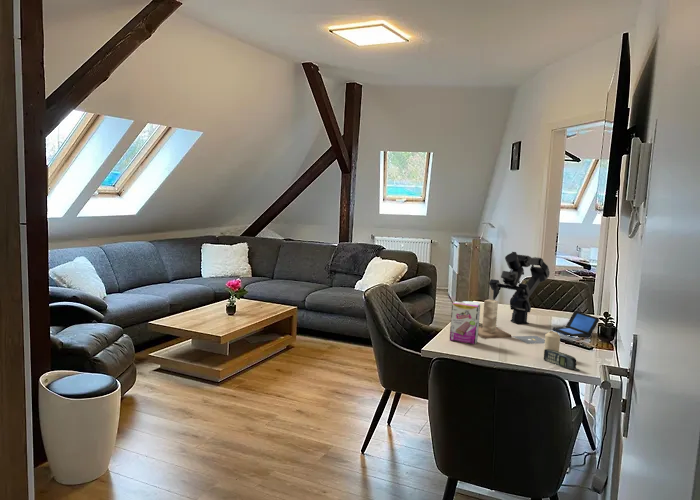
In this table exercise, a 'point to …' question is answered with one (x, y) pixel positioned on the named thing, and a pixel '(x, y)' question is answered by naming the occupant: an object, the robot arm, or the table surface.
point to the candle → (552, 341)
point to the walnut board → (497, 334)
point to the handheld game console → (579, 325)
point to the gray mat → (530, 339)
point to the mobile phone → (560, 359)
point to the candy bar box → (464, 322)
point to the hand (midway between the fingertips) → (502, 300)
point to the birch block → (490, 316)
